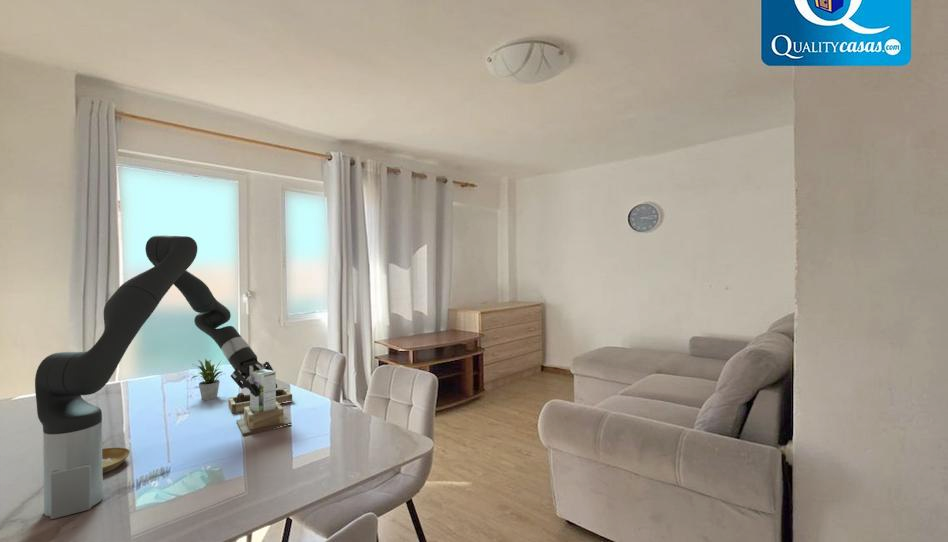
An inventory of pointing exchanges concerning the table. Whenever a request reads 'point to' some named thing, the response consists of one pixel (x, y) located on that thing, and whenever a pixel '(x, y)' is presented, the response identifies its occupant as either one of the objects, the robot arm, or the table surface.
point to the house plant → (208, 380)
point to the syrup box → (264, 391)
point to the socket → (262, 420)
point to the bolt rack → (239, 407)
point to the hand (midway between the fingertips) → (267, 391)
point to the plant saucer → (113, 457)
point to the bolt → (245, 398)
